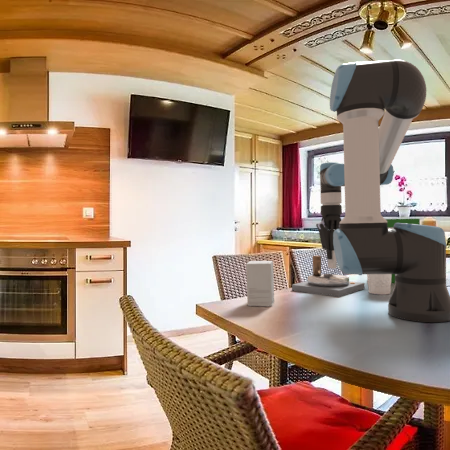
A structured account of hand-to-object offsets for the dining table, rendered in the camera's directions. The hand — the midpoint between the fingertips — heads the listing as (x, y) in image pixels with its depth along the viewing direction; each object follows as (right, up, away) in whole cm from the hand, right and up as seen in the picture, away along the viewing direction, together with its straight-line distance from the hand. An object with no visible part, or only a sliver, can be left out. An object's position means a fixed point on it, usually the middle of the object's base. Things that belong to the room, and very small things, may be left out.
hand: (332, 267), depth 145 cm
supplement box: (-29, -8, -28) cm, 41 cm away
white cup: (+11, -7, -16) cm, 21 cm away
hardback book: (+25, -6, +4) cm, 26 cm away
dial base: (-4, -7, -8) cm, 11 cm away
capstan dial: (-4, -4, -8) cm, 10 cm away
